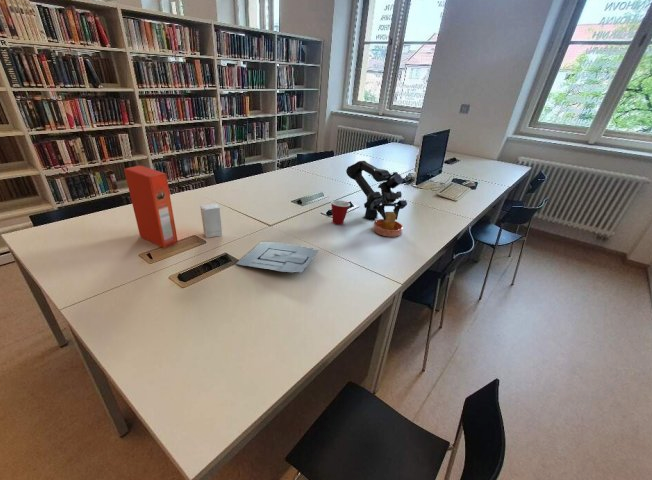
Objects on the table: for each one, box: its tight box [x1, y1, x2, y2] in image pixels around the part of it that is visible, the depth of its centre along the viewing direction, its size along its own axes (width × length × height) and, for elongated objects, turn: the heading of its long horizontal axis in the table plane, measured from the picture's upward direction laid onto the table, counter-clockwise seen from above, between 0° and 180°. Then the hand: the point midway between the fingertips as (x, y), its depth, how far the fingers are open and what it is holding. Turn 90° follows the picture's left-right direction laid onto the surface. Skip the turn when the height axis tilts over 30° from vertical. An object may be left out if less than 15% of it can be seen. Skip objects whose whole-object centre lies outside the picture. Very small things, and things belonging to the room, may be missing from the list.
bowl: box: [372, 218, 403, 238], centre depth 174 cm, size 15×15×4 cm
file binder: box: [123, 165, 179, 249], centre depth 142 cm, size 8×17×32 cm, turn 56°
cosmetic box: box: [199, 203, 223, 239], centre depth 154 cm, size 8×6×15 cm
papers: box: [235, 240, 320, 274], centre depth 140 cm, size 24×30×4 cm
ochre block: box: [382, 211, 396, 230], centre depth 172 cm, size 4×4×10 cm
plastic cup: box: [330, 199, 351, 226], centre depth 177 cm, size 11×11×12 cm
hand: (390, 219), depth 170 cm, fingers open, 6 cm apart
